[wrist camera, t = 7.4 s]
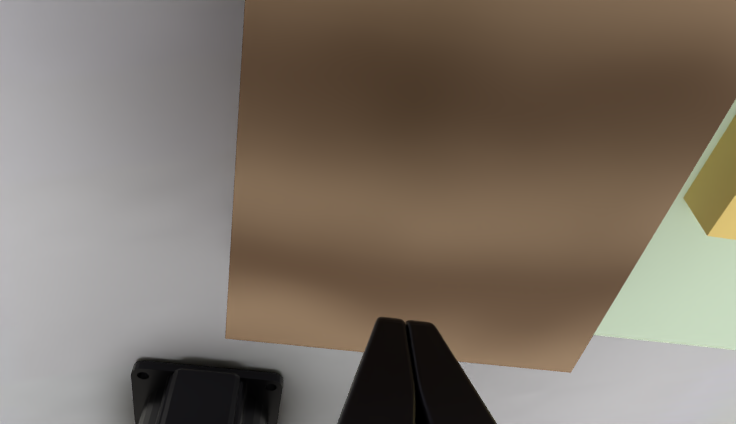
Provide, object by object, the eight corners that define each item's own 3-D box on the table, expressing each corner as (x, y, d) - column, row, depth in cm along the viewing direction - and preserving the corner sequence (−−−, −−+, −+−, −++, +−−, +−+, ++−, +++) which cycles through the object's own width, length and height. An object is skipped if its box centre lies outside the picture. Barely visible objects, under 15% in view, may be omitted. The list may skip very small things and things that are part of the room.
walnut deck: (545, 289, 26) (570, 372, 23) (241, 255, 25) (225, 338, 21) (875, -374, 14) (1029, -387, 10) (298, -526, 12) (279, -595, 9)
